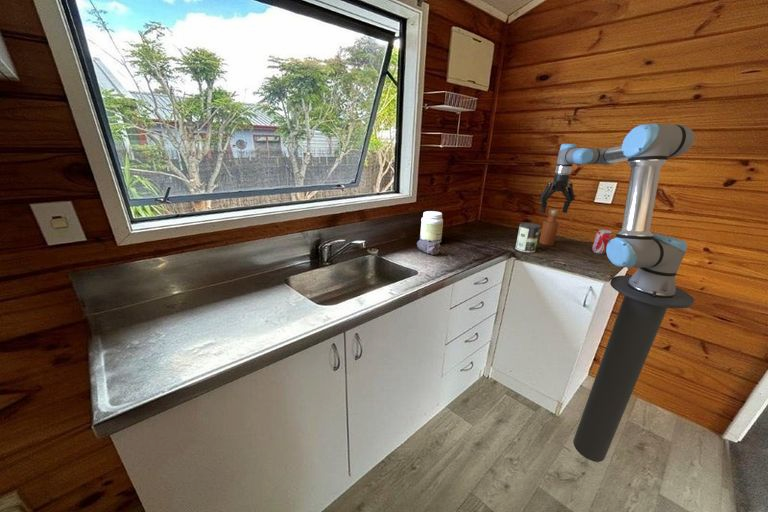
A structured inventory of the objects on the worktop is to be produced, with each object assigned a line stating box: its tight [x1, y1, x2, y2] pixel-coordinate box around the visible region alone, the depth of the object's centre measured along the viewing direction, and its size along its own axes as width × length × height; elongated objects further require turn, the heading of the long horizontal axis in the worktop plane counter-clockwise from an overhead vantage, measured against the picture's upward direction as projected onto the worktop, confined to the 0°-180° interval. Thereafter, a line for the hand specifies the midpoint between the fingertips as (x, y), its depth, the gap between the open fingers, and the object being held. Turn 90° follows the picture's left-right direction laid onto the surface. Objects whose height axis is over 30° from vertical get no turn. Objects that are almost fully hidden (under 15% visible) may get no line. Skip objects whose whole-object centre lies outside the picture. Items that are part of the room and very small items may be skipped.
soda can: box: [591, 229, 613, 255], centre depth 163 cm, size 7×7×12 cm
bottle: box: [538, 214, 560, 246], centre depth 176 cm, size 8×8×17 cm
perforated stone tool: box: [416, 239, 441, 256], centre depth 157 cm, size 15×5×7 cm, turn 36°
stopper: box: [548, 208, 559, 217], centre depth 173 cm, size 5×5×7 cm
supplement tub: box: [419, 210, 444, 244], centre depth 172 cm, size 12×12×17 cm
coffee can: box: [514, 221, 542, 254], centre depth 164 cm, size 10×10×14 cm
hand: (553, 212), depth 172 cm, fingers open, 13 cm apart
